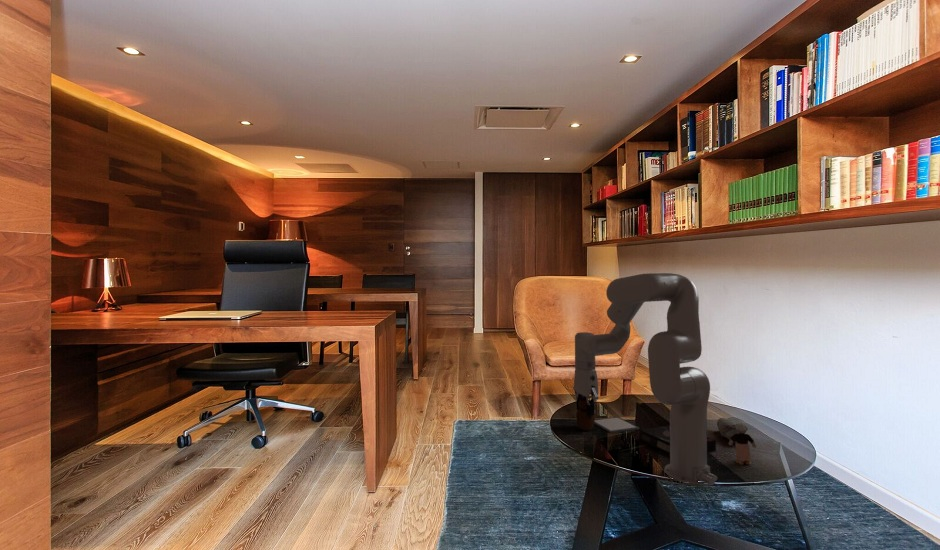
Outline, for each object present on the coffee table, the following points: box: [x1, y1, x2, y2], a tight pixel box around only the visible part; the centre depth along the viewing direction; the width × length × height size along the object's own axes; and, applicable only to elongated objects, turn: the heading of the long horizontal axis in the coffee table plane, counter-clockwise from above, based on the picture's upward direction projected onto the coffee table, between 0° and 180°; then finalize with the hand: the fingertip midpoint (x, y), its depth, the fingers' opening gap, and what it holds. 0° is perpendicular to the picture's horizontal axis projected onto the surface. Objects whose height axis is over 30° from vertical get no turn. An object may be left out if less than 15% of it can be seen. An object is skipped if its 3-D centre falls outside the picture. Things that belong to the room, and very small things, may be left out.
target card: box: [594, 416, 641, 434], centre depth 162 cm, size 13×13×1 cm
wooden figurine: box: [575, 394, 596, 431], centre depth 158 cm, size 7×6×15 cm
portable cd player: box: [638, 424, 717, 456], centre depth 143 cm, size 16×17×4 cm
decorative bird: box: [716, 417, 739, 447], centre depth 148 cm, size 5×16×8 cm, turn 167°
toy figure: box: [728, 421, 757, 466], centre depth 129 cm, size 8×4×13 cm, turn 92°
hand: (585, 411), depth 158 cm, fingers closed on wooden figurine, 6 cm apart
